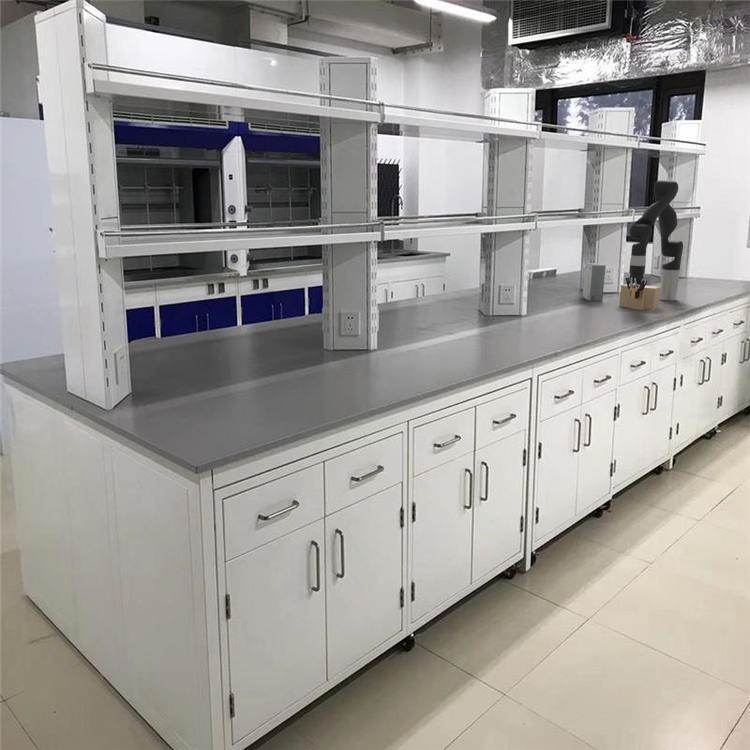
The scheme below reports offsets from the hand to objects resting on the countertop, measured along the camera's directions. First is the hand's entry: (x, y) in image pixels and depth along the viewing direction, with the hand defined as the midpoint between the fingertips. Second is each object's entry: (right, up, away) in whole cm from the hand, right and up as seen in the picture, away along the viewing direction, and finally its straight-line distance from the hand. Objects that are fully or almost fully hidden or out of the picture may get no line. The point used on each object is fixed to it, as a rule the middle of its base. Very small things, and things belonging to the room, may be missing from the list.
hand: (634, 297), depth 368 cm
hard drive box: (-10, +3, +40) cm, 41 cm away
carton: (+7, -3, +14) cm, 16 cm away
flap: (-1, -5, +6) cm, 8 cm away
